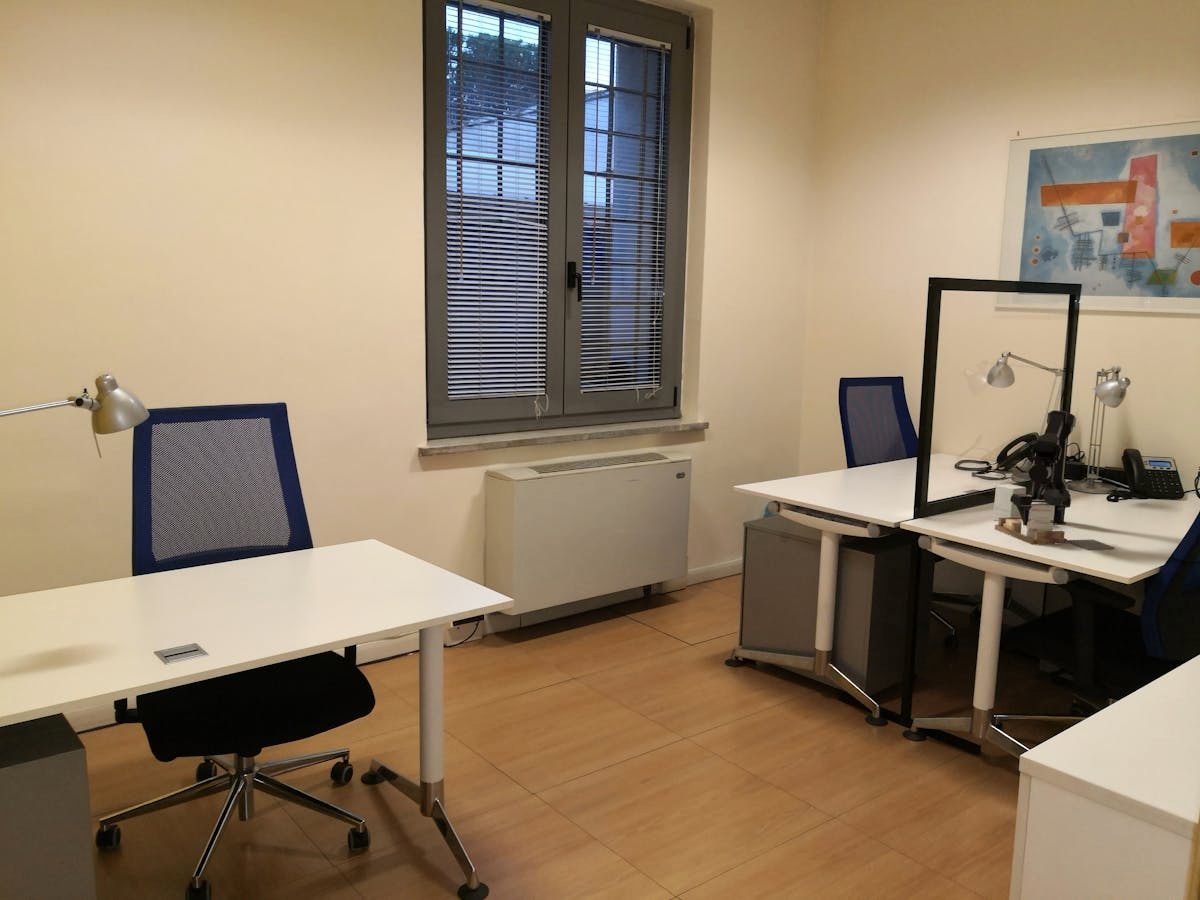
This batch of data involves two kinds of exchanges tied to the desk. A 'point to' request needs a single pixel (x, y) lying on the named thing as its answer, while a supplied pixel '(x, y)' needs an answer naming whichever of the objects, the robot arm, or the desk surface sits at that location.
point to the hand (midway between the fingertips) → (1037, 525)
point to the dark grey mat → (1090, 544)
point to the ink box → (1038, 519)
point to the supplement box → (1006, 501)
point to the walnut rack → (1041, 537)
